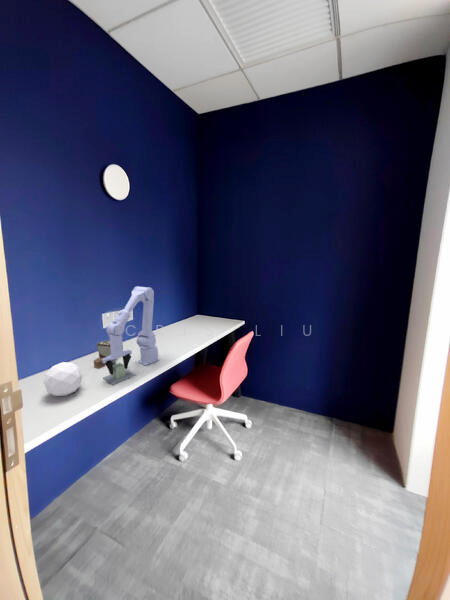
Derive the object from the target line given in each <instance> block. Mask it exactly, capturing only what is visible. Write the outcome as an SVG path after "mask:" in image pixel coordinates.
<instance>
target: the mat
mask: <svg viewBox="0 0 450 600" xmlns="http://www.w3.org/2000/svg"><path fill="white" fill-rule="evenodd" d="M133 376H134V377H136V375H135V374H134V373H133V372H131V371H129V370H128V369H125V376H124V377H121V378H119V379H116V378H114V377H113V375H111V374H109V375H106V376H104V377H102V379H103V380H104V381H105V382H107V383H109V384H110V385H111V386H114V385H117V384H120V383H122V382H124V381H127V380H129V379H131V377H132V378H134V377H133ZM126 379H127V380H126Z"/></svg>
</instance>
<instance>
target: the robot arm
mask: <svg viewBox="0 0 450 600" xmlns="http://www.w3.org/2000/svg"><path fill="white" fill-rule="evenodd" d="M154 297H155V291H154V289H153V288H152V287H150V286H149V287H145V286H139V285H136V286H135V287H134V288H133V289H132V291H131V296H130V298H129V300H128V301H127V303H126V305H125V306H124V309H121V310H119V311H118V313H117V315H116V316H115V317H114V319H113V320H112V322H110V323H109V324H108V325H107V326H106V329H105V331H106V333H107V335H108V337H109V341H110V348H111V355H109V356H107V357H105V358H102V362H103V363H105V367H107V370H108V372H109V375H113V363H112V361H111V360H114V359H115V360H117V359H121V358H122V361H123V363H122V364H123V365H124V368H125V369H126V370H128V367H129V363H130V361H131V359H132V352H133V351H132V350H131V349H127V350H124V344H123V333H124V332H125V327H126V324H127V323H128V321H129V319H130V317H131V312H132V311H133V309H134V308H135V307H136V305H137V304H138V303H139V302H142V305H143V307H142V308H143V310H142V323H141V330H140V331H139V332H138V333H137V338H136V344H137V345H138V347H139V351H140V359H139V360H137V362H138V363H140V364H142V365H144V366H148V365H150V364H153V363H155V362H159V361H160V358H159V349H158V346H157V345H156V342H157V340H156V334H155V333H154V331H153V317H154V315H153V314H154V302H155V298H154Z"/></svg>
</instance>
